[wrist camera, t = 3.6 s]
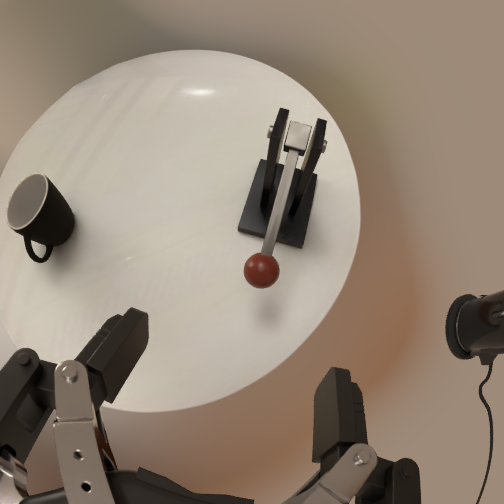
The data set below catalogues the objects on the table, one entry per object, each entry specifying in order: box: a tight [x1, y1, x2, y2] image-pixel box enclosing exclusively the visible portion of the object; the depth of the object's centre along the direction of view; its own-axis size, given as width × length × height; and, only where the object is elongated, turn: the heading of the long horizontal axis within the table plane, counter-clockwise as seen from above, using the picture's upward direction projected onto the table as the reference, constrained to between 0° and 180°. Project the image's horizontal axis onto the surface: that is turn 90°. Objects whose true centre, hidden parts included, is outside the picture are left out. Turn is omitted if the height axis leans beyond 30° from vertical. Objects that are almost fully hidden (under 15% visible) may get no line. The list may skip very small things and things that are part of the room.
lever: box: [244, 121, 312, 289], centre depth 27 cm, size 17×4×4 cm, turn 164°
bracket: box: [238, 108, 327, 248], centre depth 32 cm, size 12×9×16 cm
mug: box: [6, 173, 74, 263], centre depth 31 cm, size 12×9×10 cm
